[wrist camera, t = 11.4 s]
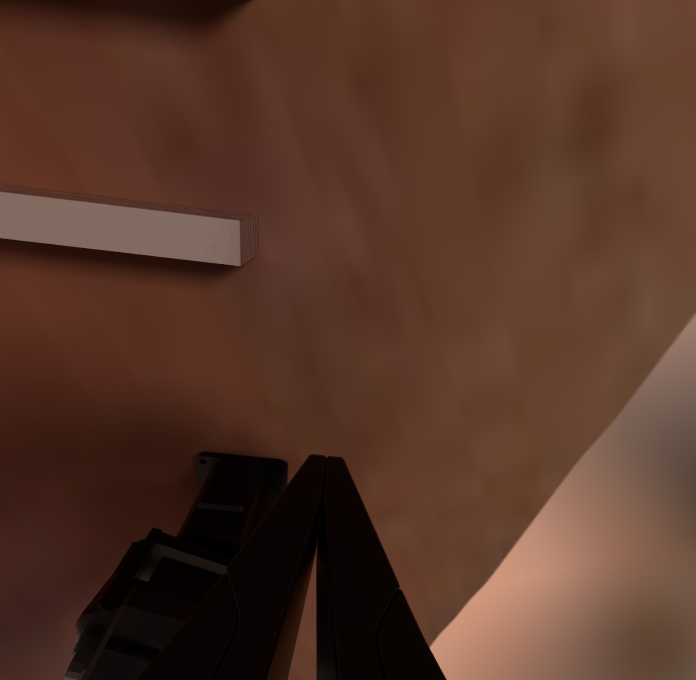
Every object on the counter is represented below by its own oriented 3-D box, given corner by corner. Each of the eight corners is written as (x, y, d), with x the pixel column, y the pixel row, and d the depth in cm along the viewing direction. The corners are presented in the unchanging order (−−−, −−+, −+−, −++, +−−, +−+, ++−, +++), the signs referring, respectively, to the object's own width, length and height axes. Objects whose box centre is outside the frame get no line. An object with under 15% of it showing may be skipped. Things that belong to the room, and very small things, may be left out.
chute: (257, 254, 18) (240, 266, 15) (-82, 214, 18) (-162, 218, 15) (257, -74, 13) (231, -145, 10) (-226, -145, 12) (-390, -238, 10)
